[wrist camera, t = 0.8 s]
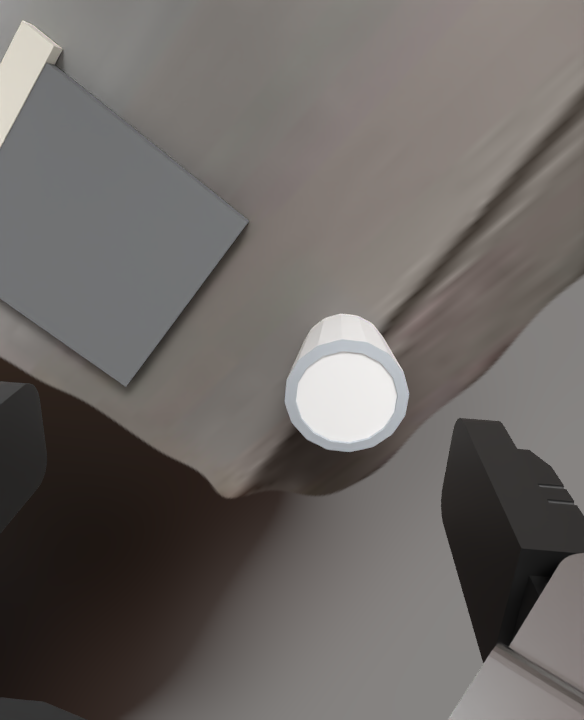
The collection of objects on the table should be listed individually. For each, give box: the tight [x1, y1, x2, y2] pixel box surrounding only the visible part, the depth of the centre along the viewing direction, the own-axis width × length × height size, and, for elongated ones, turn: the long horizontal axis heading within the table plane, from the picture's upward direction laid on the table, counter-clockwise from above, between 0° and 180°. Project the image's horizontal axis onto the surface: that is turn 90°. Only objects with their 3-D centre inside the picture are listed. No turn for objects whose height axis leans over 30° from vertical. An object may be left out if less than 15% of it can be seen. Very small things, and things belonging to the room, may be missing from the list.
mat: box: [0, 20, 249, 387], centre depth 35 cm, size 16×16×1 cm
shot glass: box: [285, 314, 409, 452], centre depth 34 cm, size 7×7×7 cm
